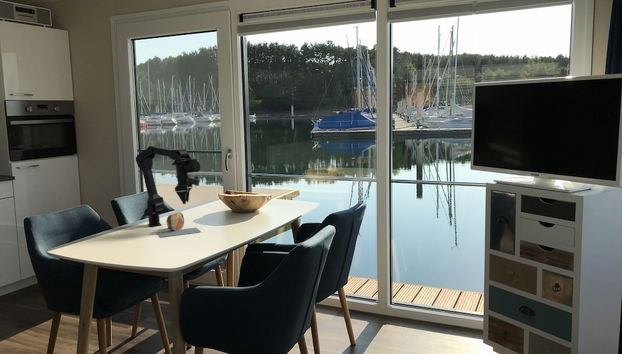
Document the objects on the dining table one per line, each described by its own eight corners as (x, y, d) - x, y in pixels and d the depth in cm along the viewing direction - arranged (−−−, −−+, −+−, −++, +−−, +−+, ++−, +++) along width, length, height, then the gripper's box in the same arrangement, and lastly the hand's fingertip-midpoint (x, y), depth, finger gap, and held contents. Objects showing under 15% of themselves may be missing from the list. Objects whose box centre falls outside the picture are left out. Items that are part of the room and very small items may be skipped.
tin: (172, 232, 270) (170, 215, 269) (166, 232, 271) (165, 215, 270) (185, 226, 285) (183, 211, 284) (179, 226, 285) (178, 211, 285)
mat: (157, 233, 272) (157, 232, 272) (196, 228, 280) (196, 227, 280) (160, 237, 262) (160, 236, 262) (201, 232, 270) (201, 231, 270)
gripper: (195, 172, 268) (199, 203, 269) (200, 170, 286) (203, 198, 288) (172, 175, 267) (176, 206, 268) (179, 172, 286) (183, 201, 287)
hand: (186, 202), depth 278 cm, fingers open, 9 cm apart
